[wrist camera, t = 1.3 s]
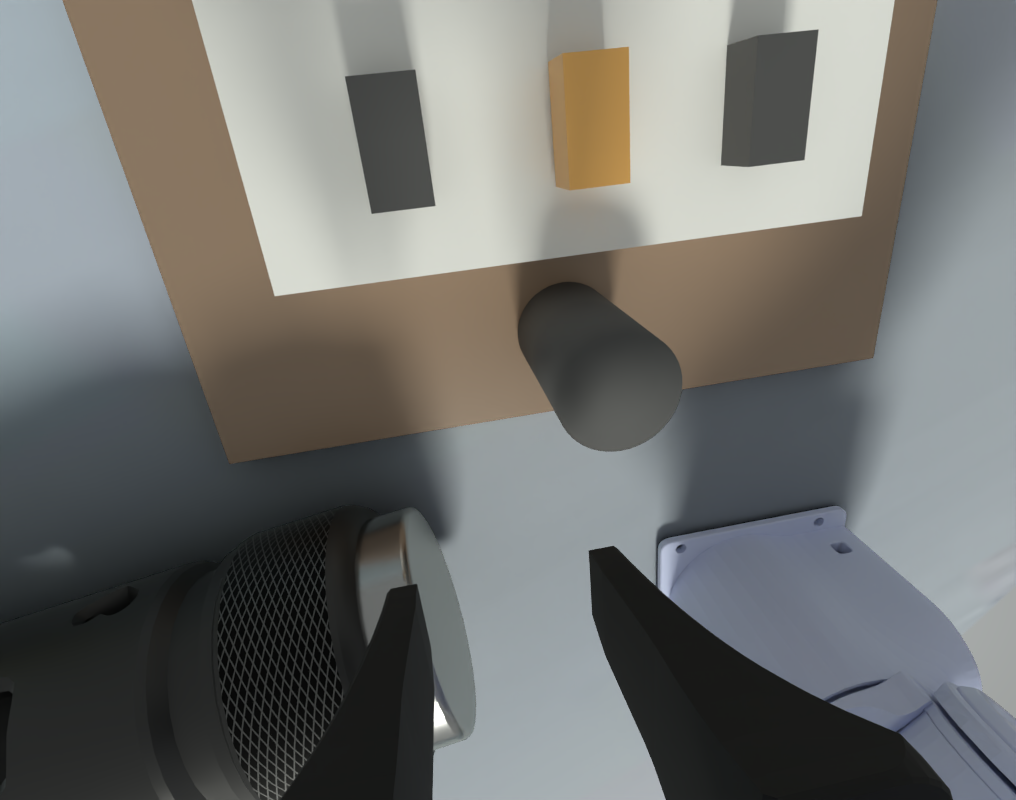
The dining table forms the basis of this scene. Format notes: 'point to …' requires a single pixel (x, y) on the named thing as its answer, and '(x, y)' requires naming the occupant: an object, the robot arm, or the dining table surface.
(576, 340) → the post
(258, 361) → the breaker panel
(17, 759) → the muzzle brake
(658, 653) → the robot arm
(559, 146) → the orange block
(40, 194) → the dining table surface
